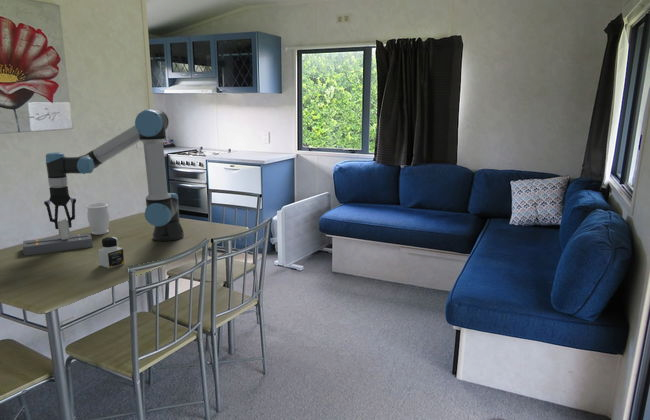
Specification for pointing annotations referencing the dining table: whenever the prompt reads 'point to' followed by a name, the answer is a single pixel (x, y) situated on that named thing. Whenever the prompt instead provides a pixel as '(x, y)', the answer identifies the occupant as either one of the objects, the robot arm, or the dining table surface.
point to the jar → (98, 218)
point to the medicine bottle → (110, 253)
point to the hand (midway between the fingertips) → (64, 234)
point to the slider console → (56, 244)
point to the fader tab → (63, 228)
